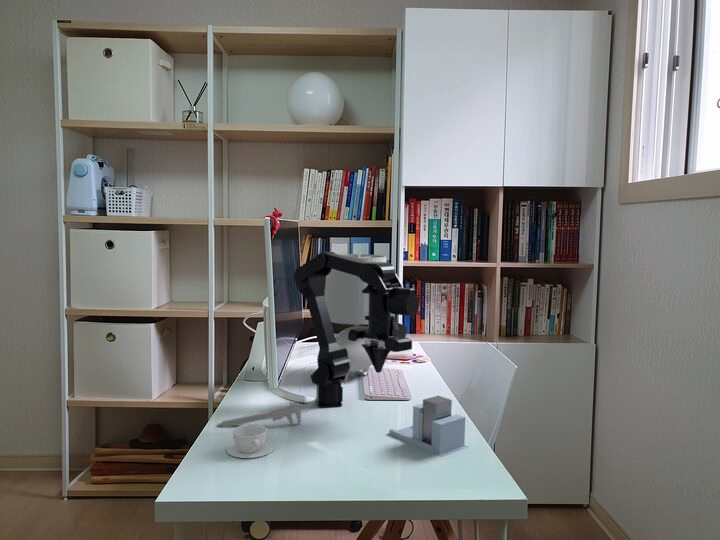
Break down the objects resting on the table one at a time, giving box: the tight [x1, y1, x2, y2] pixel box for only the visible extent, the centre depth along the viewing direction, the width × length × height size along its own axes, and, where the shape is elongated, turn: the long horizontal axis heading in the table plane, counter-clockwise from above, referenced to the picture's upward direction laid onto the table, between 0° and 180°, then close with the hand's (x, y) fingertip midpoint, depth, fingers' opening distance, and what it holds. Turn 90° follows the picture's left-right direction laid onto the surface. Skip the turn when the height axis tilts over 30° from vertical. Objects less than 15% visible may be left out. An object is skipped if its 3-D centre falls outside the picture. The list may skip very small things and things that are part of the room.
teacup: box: [226, 424, 274, 459], centre depth 129 cm, size 10×10×5 cm
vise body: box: [387, 413, 470, 457], centre depth 134 cm, size 17×9×8 cm, turn 40°
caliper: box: [216, 400, 302, 428], centre depth 145 cm, size 20×1×6 cm, turn 97°
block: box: [422, 395, 453, 445], centre depth 131 cm, size 4×5×10 cm
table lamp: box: [324, 253, 387, 383], centre depth 190 cm, size 23×22×40 cm
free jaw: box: [412, 403, 423, 441], centre depth 134 cm, size 2×6×8 cm, turn 130°
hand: (378, 372), depth 151 cm, fingers closed
